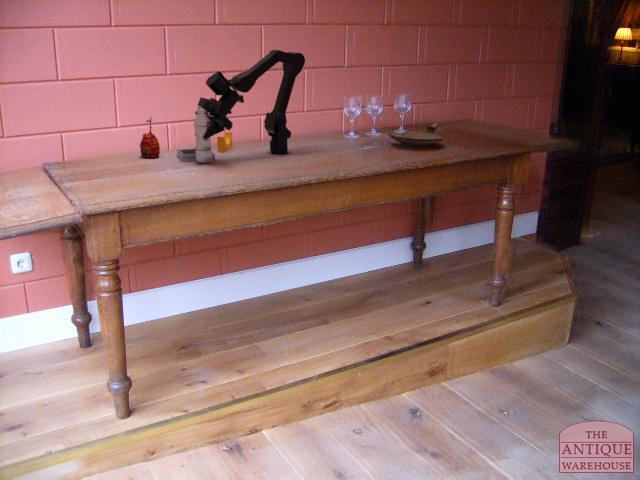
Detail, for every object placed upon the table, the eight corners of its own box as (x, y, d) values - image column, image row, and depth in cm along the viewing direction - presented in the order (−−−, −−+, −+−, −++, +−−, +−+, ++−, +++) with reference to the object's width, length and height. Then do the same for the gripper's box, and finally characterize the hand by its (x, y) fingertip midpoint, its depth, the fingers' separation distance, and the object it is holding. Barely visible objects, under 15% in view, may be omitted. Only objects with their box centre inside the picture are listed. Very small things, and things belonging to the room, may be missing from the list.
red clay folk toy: (136, 157, 248) (133, 117, 243) (147, 154, 255) (144, 115, 250) (154, 159, 246) (151, 119, 241) (164, 155, 252) (161, 116, 247)
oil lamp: (375, 143, 282) (376, 126, 279) (429, 138, 297) (430, 120, 294) (408, 153, 264) (409, 134, 261) (464, 146, 279) (465, 128, 276)
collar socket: (208, 153, 257) (207, 147, 256) (214, 159, 247) (214, 153, 246) (177, 155, 253) (176, 149, 252) (182, 162, 242) (182, 155, 242)
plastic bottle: (198, 165, 237) (196, 109, 231) (193, 161, 243) (190, 107, 236) (215, 163, 240) (213, 108, 234) (209, 160, 246) (207, 106, 239)
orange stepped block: (222, 147, 271) (221, 131, 269) (232, 147, 270) (232, 131, 268) (213, 152, 260) (212, 136, 258) (224, 153, 259) (223, 136, 257)
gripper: (198, 86, 242) (172, 119, 239) (224, 91, 228) (197, 126, 226) (218, 106, 249) (193, 138, 247) (244, 112, 236) (218, 146, 233)
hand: (199, 137), depth 238 cm, fingers closed on plastic bottle, 6 cm apart
